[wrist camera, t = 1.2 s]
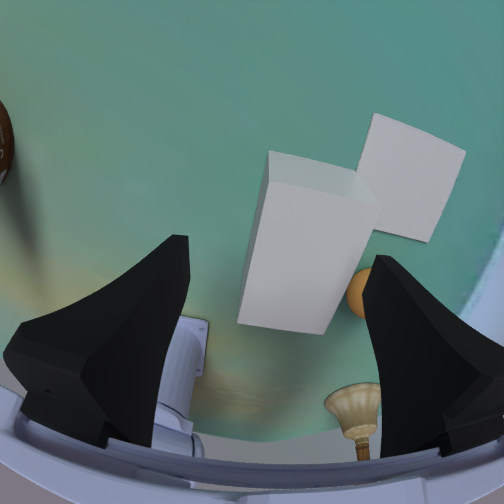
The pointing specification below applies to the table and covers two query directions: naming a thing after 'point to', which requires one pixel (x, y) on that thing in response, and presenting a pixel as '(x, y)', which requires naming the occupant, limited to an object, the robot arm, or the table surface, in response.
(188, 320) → the robot arm
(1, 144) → the food container
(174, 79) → the table surface
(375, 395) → the hand bell
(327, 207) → the off-white rectangular block
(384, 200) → the light gray square block
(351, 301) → the ball
